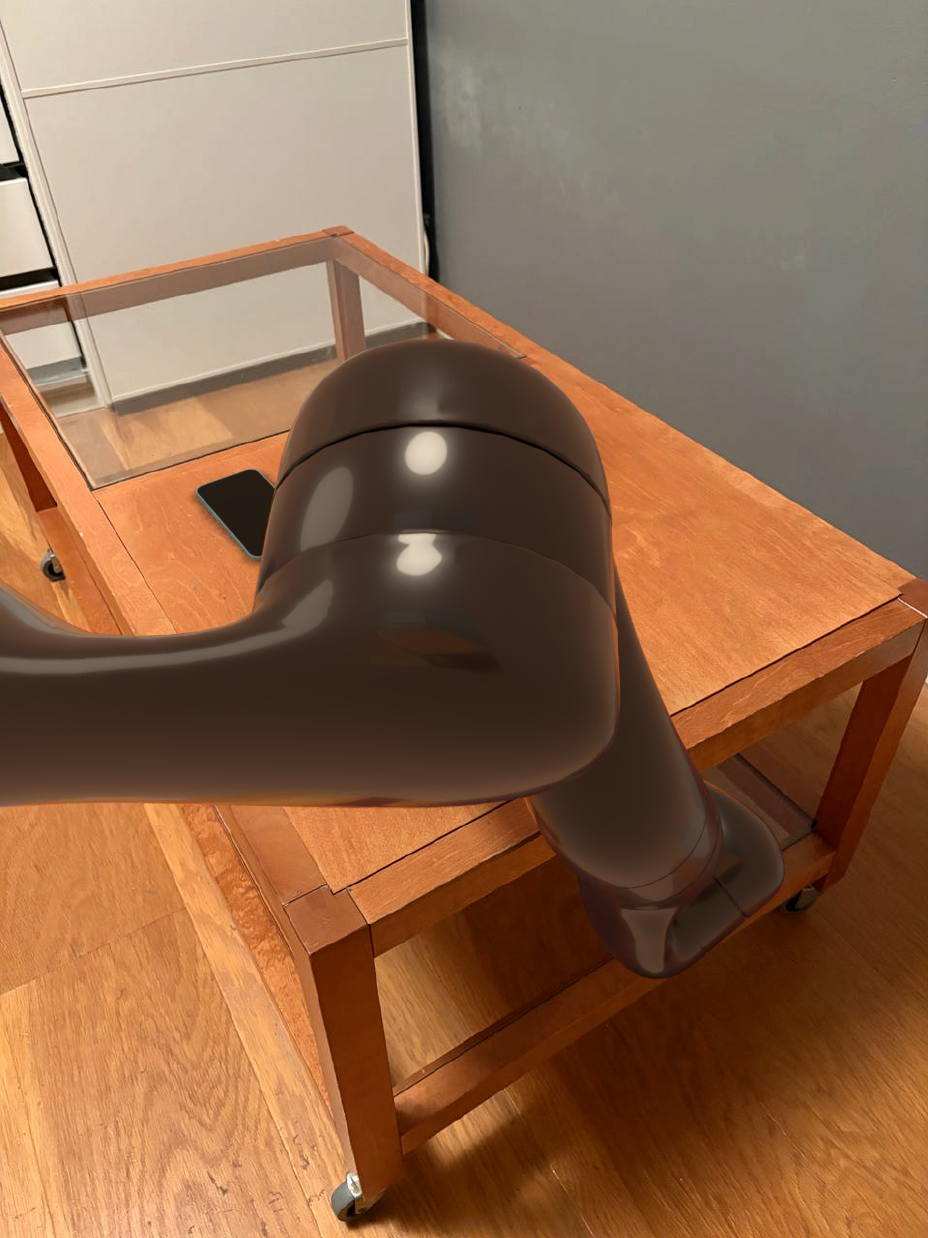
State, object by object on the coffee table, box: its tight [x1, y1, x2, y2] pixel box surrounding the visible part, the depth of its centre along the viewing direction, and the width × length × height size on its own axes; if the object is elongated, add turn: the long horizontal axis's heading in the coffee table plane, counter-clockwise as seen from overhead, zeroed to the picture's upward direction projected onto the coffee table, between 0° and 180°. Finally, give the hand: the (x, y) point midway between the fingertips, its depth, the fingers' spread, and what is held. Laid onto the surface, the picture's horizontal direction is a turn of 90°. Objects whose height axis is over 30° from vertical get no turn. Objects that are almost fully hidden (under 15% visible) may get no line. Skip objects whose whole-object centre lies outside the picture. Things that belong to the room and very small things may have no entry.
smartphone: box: [195, 468, 275, 562], centre depth 96 cm, size 7×1×15 cm
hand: (410, 558), depth 73 cm, fingers closed on wooden figurine, 5 cm apart
